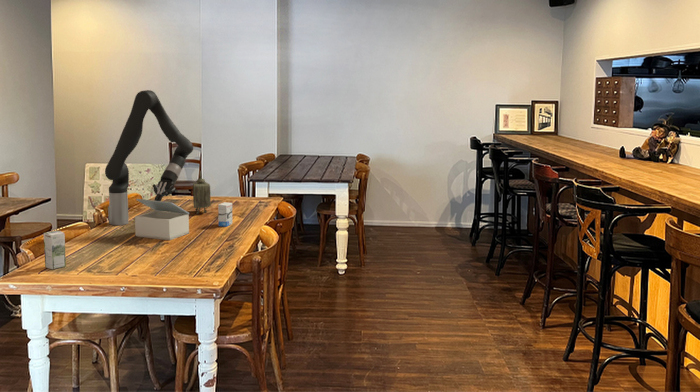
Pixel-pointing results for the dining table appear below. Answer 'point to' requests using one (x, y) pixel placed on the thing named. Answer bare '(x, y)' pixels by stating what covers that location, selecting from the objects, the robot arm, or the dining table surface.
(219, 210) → the ink box
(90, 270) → the dining table surface
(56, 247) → the syrup box
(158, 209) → the lid
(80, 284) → the dining table surface
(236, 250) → the dining table surface
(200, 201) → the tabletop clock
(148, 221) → the storage box
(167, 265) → the dining table surface
